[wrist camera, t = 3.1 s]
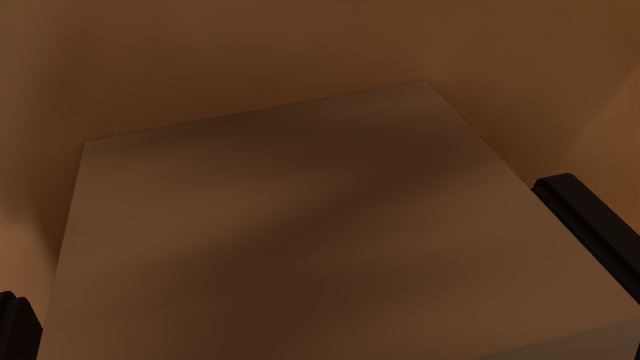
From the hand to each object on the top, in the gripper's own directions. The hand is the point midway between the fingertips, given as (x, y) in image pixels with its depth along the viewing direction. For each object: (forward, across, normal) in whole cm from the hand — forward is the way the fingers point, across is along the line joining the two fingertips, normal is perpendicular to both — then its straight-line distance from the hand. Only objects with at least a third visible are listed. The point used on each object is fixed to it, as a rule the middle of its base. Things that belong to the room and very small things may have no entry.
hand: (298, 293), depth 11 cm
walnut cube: (+2, 0, 0) cm, 2 cm away
